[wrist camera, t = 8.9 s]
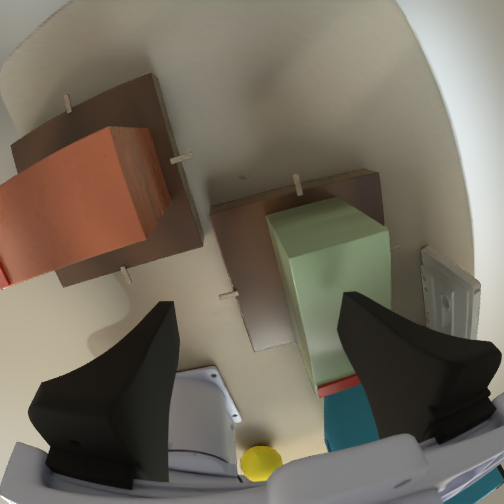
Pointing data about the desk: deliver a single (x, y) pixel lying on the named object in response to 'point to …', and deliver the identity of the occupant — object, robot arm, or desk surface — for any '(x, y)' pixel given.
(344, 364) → the green box
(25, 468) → the robot arm
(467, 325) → the cassette
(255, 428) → the desk surface
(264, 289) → the back stand
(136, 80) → the front stand
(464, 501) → the block
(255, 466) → the lemon
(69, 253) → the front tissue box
